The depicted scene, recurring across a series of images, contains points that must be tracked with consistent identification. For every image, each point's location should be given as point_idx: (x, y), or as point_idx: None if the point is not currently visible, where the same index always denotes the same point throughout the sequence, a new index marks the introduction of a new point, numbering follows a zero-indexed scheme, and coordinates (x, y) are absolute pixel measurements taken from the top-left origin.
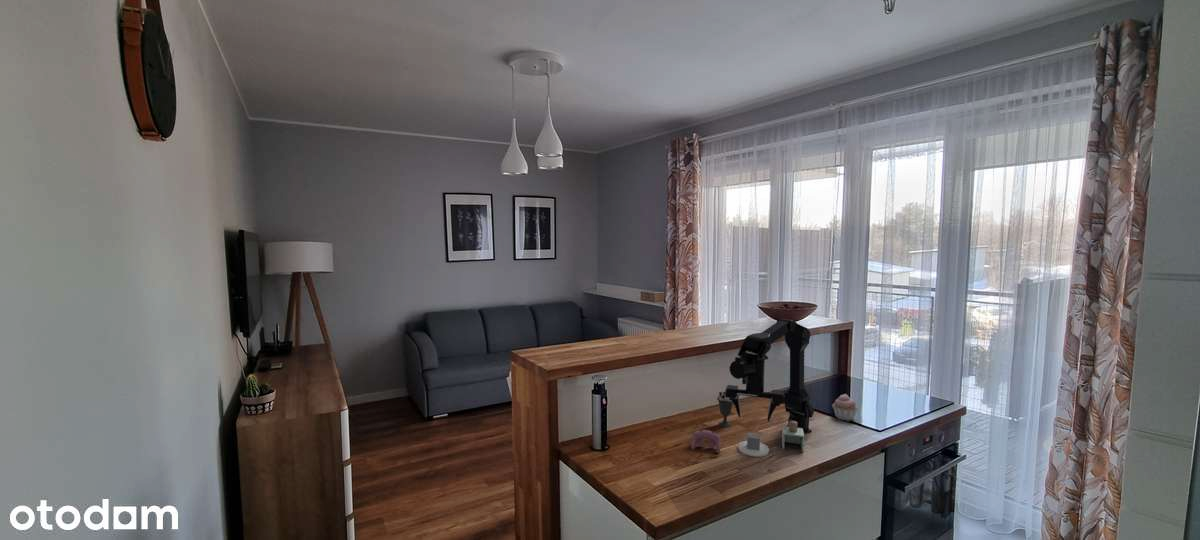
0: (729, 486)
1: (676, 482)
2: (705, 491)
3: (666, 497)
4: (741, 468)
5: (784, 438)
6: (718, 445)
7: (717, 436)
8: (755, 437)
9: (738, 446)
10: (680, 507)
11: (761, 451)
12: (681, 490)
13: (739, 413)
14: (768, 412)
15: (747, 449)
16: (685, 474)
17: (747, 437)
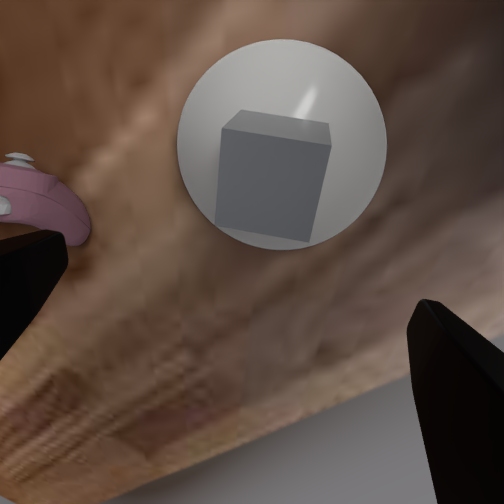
0: (168, 437)
1: (21, 422)
2: (107, 453)
3: (28, 468)
4: (204, 346)
5: None
6: None
7: (16, 220)
8: (278, 219)
9: (180, 166)
10: (71, 493)
11: (320, 215)
12: (48, 449)
13: (25, 322)
14: (458, 427)
15: None
16: (26, 388)
17: (216, 225)
